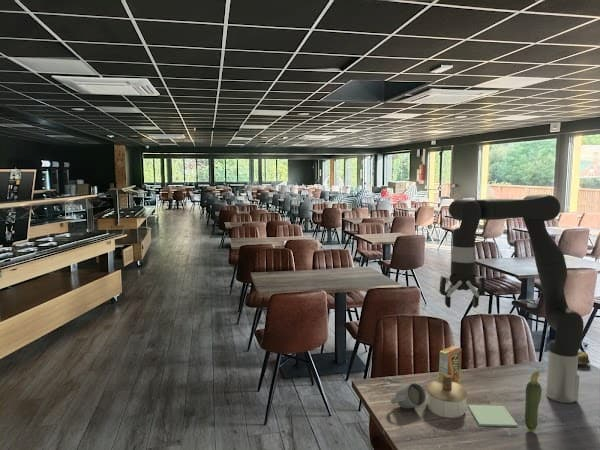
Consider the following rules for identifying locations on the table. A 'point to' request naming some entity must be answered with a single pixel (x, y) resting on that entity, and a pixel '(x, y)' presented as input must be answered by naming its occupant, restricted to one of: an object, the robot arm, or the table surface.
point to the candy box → (450, 363)
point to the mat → (492, 415)
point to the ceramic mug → (410, 396)
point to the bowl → (446, 407)
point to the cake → (582, 358)
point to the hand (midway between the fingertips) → (461, 307)
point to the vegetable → (532, 402)
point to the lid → (447, 390)
